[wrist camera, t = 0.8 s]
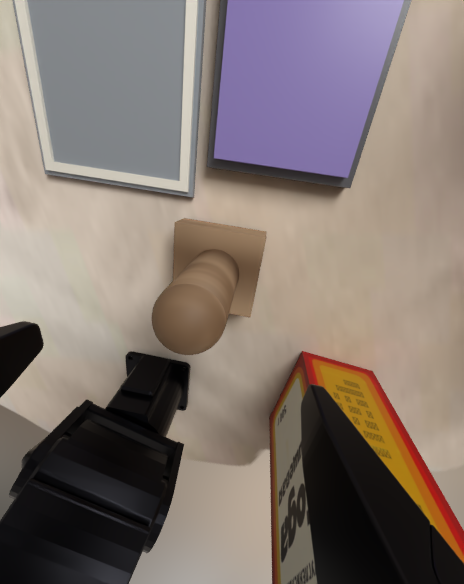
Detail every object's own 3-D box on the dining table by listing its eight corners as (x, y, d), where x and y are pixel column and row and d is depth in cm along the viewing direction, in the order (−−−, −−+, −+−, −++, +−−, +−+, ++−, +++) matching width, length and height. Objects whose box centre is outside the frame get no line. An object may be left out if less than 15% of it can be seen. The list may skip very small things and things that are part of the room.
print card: (194, 197, 17) (191, 197, 16) (49, 174, 17) (42, 173, 17) (208, -33, 12) (205, -43, 11) (9, -53, 13) (-3, -63, 12)
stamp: (251, 302, 20) (240, 405, 11) (182, 289, 20) (112, 378, 11) (266, 230, 17) (266, 284, 8) (186, 217, 17) (99, 254, 8)
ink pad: (345, 187, 15) (353, 188, 14) (210, 167, 16) (204, 165, 14) (408, -13, 11) (429, -41, 10) (227, -31, 12) (222, -60, 10)
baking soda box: (328, 434, 25) (412, 772, 11) (269, 417, 25) (274, 729, 11) (372, 371, 21) (605, 778, 7) (302, 351, 21) (381, 711, 7)
